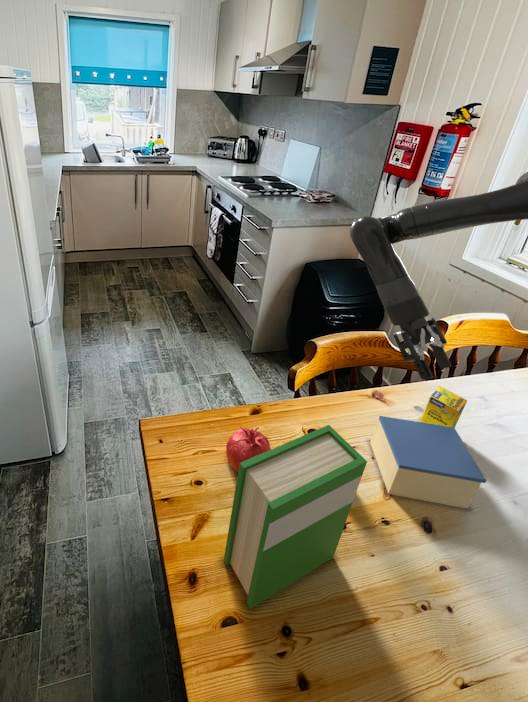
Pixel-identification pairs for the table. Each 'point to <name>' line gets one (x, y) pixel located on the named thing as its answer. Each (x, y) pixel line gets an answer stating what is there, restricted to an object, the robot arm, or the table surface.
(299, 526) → the hardback book
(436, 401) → the supplement box
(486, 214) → the robot arm
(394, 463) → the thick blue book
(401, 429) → the lid
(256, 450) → the pomegranate
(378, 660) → the table surface
